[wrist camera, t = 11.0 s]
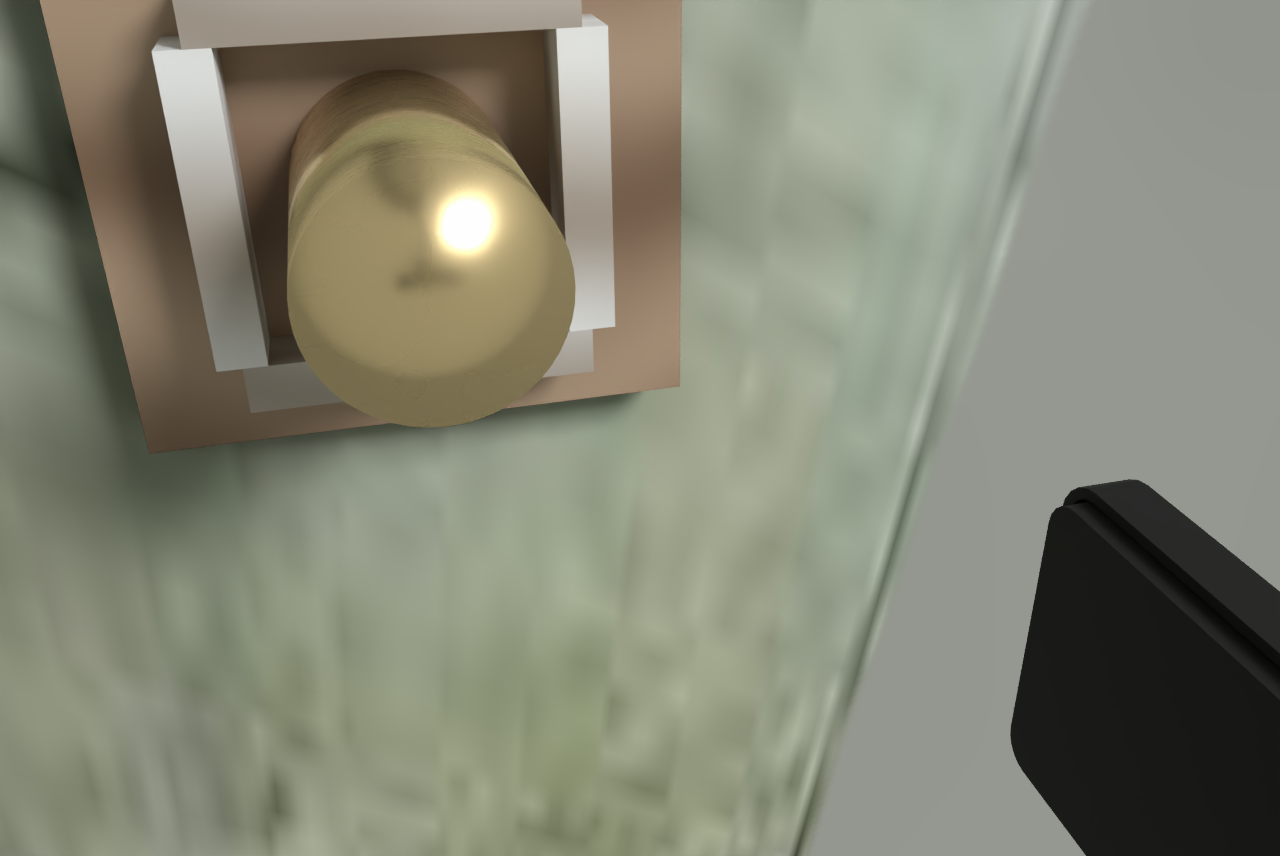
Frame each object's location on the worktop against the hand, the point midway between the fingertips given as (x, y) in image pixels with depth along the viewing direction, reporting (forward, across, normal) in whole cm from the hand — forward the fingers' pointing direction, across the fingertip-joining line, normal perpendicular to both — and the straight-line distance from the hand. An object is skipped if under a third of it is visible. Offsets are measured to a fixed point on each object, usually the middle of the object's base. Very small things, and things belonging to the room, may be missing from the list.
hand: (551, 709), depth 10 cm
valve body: (+16, 0, 0) cm, 17 cm away
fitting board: (+18, 0, 0) cm, 18 cm away
